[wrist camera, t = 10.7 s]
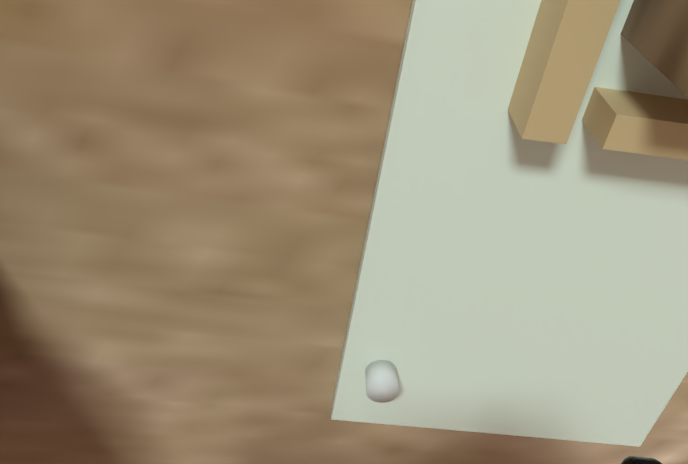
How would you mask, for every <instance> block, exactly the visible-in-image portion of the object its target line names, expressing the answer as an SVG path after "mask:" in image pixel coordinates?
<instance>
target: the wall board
mask: <svg viewBox="0 0 688 464" xmlns="http://www.w3.org/2000/svg"><path fill="white" fill-rule="evenodd" d="M633 1H634V0H413V2H412V7H411V12H410V17H409V22H408V27H407V32H406V37H405V42H404V47H403V52H402V57H401V62H400V67H399V72H398V77H397V82H396V87H395V92H394V97H393V102H392V107H391V112H390V117H389V122H388V128H387V133H386V138H385V143H384V148H383V153H382V158H381V163H380V168H379V173H378V178H377V183H376V188H375V193H374V198H373V203H372V208H371V213H370V218H369V223H368V228H367V233H366V238H365V243H364V248H363V253H362V258H361V263H360V268H359V273H358V278H357V283H356V288H355V293H354V298H353V303H352V308H351V313H350V318H349V323H348V328H347V333H346V338H345V343H344V348H343V353H342V358H341V363H340V368H339V373H338V379H337V384H336V389H335V394H334V399H333V404H332V409H331V419H333V420H344V421H356V422H367V423H378V424H390V425H401V426H412V427H424V428H435V429H447V430H458V431H469V432H481V433H492V434H503V435H515V436H526V437H538V438H549V439H560V440H572V441H583V442H594V443H606V444H617V445H629V446H641V444H642V442H643V441H644V439H645V438H646V436H647V435H648V433H649V431H650V430H651V428H652V427H653V425H654V424H655V422H656V420H657V419H658V417H659V416H660V414H661V413H662V411H663V409H664V408H665V406H666V405H667V403H668V402H669V400H670V398H671V397H672V395H673V394H674V392H675V391H676V389H677V387H678V386H679V384H680V383H681V381H682V380H683V378H684V376H685V375H686V373H687V372H688V97H687V96H686V95H685V94H684V93H683V92H681V91H680V90H679V89H678V88H677V87H676V86H675V85H674V84H673V83H672V82H671V81H670V80H669V79H668V78H667V77H666V76H665V75H663V74H662V73H661V72H660V71H659V70H658V69H657V68H656V67H655V66H654V65H653V64H652V63H651V62H650V61H649V60H648V59H646V58H645V57H644V56H643V55H642V54H641V53H640V52H639V51H638V50H637V49H636V48H635V47H634V46H633V45H632V44H631V43H630V42H628V41H627V40H626V39H625V38H624V37H623V36H622V35H621V31H622V29H623V26H624V24H625V21H626V19H627V16H628V14H629V11H630V9H631V6H632V4H633Z"/></svg>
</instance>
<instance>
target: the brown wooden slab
mask: <svg viewBox="0 0 688 464" xmlns="http://www.w3.org/2000/svg"><path fill="white" fill-rule="evenodd" d="M621 35H622V36H623V37H624V38H625V39H626V40H627V41H628V42H630V43H631V44H632V45H633V46H634V47H635V48H636V49H637V50H638V51H639V52H640V53H641V54H642V55H643V56H644V57H645V58H646V59H648V60H649V61H650V62H651V63H652V64H653V65H654V66H655V67H656V68H657V69H658V70H659V71H660V72H661V73H662V74H663V75H665V76H666V77H667V78H668V79H669V80H670V81H671V82H672V83H673V84H674V85H675V86H676V87H677V88H678V89H679V90H680V91H681V92H683V93H684V94H685V95H686V96H687V97H688V0H634V1H633V4H632V6H631V9H630V11H629V14H628V16H627V19H626V21H625V24H624V26H623V29H622V31H621Z"/></svg>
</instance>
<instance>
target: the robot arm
mask: <svg viewBox="0 0 688 464" xmlns="http://www.w3.org/2000/svg"><path fill="white" fill-rule="evenodd" d="M621 464H662V463H660V462H659V461H658V460H656V459H653V458H647V457H635V456H629V457H627V458H625V459H624V460H623V461H622V463H621Z"/></svg>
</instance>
